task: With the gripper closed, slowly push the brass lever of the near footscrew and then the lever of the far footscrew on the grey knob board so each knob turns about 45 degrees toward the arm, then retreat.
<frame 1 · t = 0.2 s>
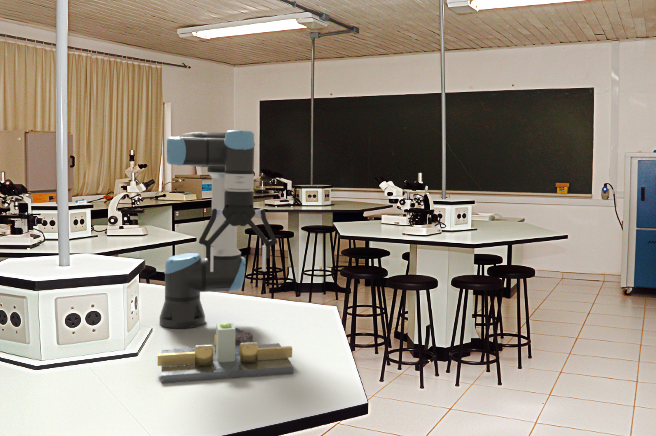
hand: (238, 270, 160), 28 cm above the worktop, fingers open, 13 cm apart
knob A: (185, 354, 161), point 5 cm above the worktop, hinge at 0.0°
knob B: (265, 350, 167), point 5 cm above the worktop, hinge at 0.0°
grey knob board: (225, 365, 167), on the worktop
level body: (225, 358, 167), resting on grey knob board
rock: (232, 345, 186), on the worktop
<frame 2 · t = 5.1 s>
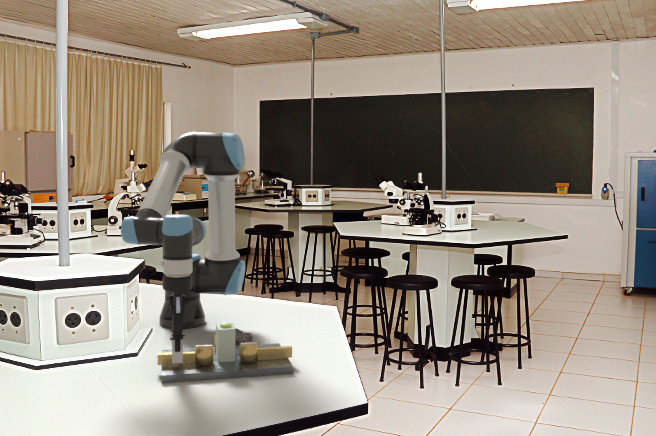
hand: (177, 362, 160), 3 cm above the worktop, fingers closed
knob A: (185, 354, 161), point 5 cm above the worktop, hinge at -3.0°, touching gripper
everything else where it was.
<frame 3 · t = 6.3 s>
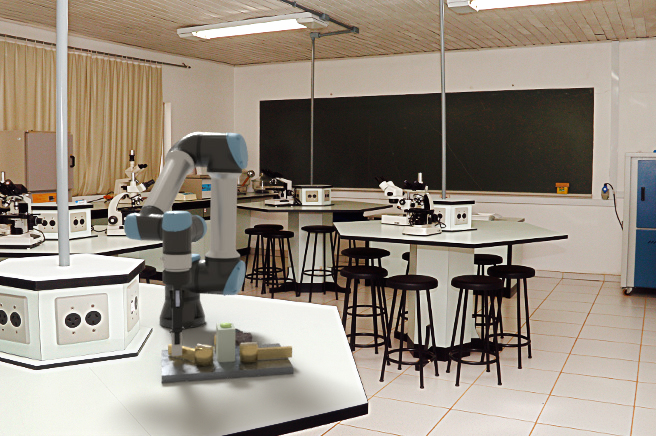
hand: (176, 354, 164), 4 cm above the worktop, fingers closed
knob A: (190, 350, 165), point 5 cm above the worktop, hinge at -43.1°, touching gripper
everything else where it was.
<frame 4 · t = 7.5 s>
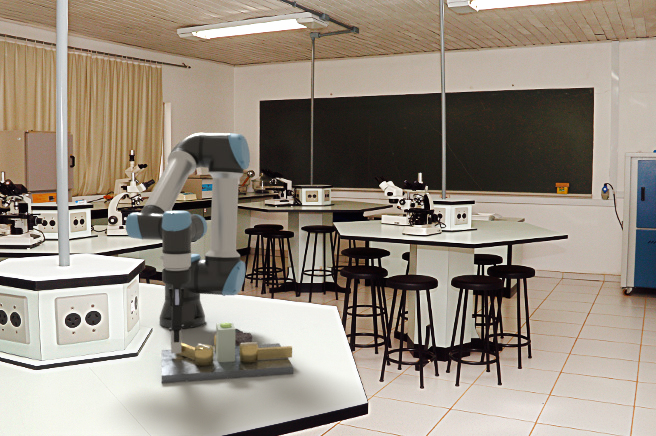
hand: (176, 352, 167), 3 cm above the worktop, fingers closed
knob A: (192, 349, 165), point 5 cm above the worktop, hinge at -54.7°, touching gripper
everything else where it was.
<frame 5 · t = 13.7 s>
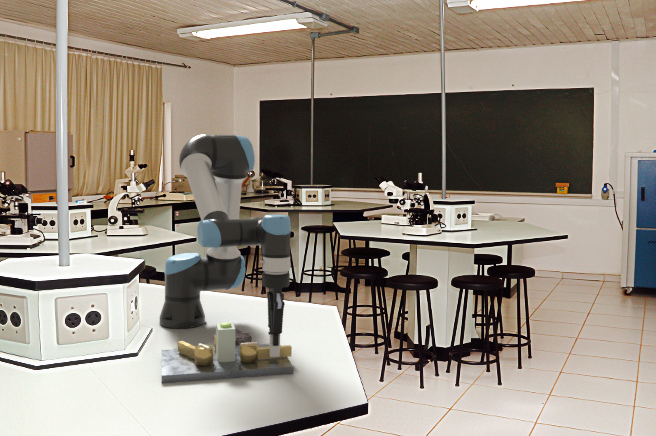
hand: (274, 356, 167), 3 cm above the worktop, fingers closed
knob A: (194, 349, 166), point 5 cm above the worktop, hinge at -60.1°
knob B: (265, 349, 167), point 5 cm above the worktop, hinge at 4.4°, touching gripper
everything else where it was.
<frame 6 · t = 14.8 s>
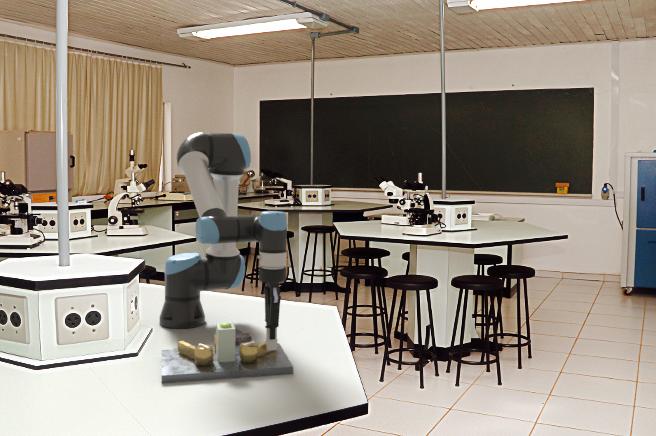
hand: (271, 349, 171), 4 cm above the worktop, fingers closed
knob B: (259, 346, 170), point 5 cm above the worktop, hinge at 42.0°, touching gripper
everything else where it was.
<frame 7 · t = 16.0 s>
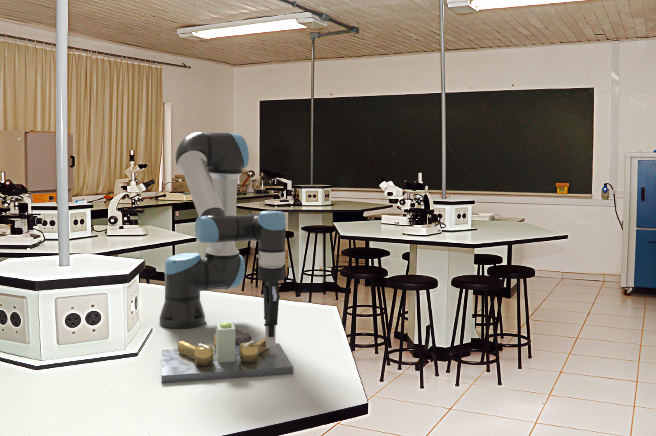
hand: (270, 346, 174), 3 cm above the worktop, fingers closed
knob B: (256, 346, 170), point 5 cm above the worktop, hinge at 54.8°, touching gripper
everything else where it was.
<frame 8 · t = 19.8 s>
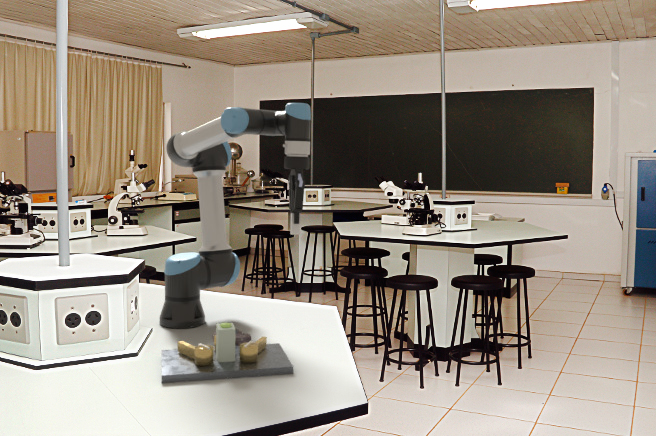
hand: (295, 234, 183), 34 cm above the worktop, fingers closed
knob B: (255, 345, 170), point 5 cm above the worktop, hinge at 59.9°
everything else where it was.
at the end: knob A at -60° (first picture: +0°); knob B at +60° (first picture: +0°) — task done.
